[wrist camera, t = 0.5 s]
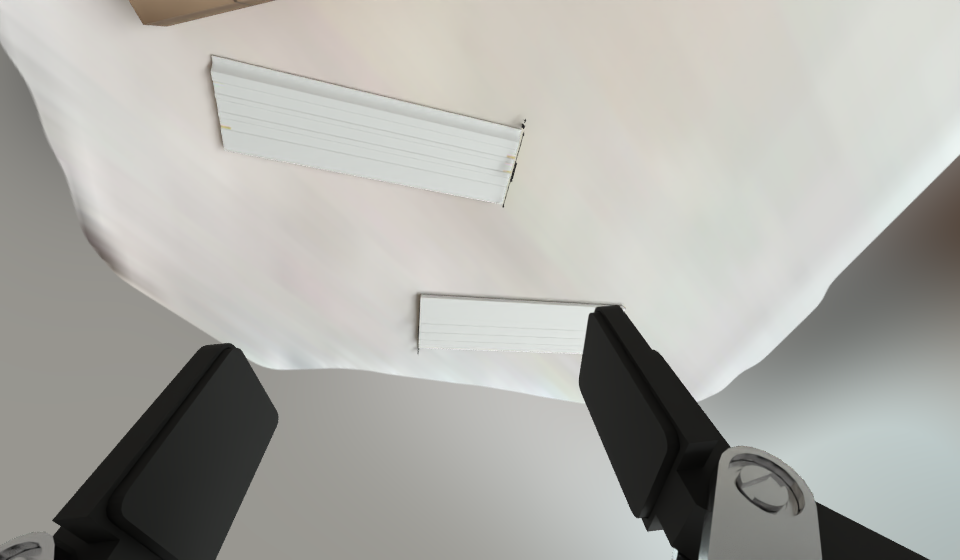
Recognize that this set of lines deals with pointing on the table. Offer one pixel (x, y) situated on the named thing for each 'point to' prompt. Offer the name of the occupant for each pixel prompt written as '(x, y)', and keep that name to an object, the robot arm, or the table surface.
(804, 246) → the table surface
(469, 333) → the baseboard molding
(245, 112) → the baseboard
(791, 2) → the table surface
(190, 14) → the plank row
